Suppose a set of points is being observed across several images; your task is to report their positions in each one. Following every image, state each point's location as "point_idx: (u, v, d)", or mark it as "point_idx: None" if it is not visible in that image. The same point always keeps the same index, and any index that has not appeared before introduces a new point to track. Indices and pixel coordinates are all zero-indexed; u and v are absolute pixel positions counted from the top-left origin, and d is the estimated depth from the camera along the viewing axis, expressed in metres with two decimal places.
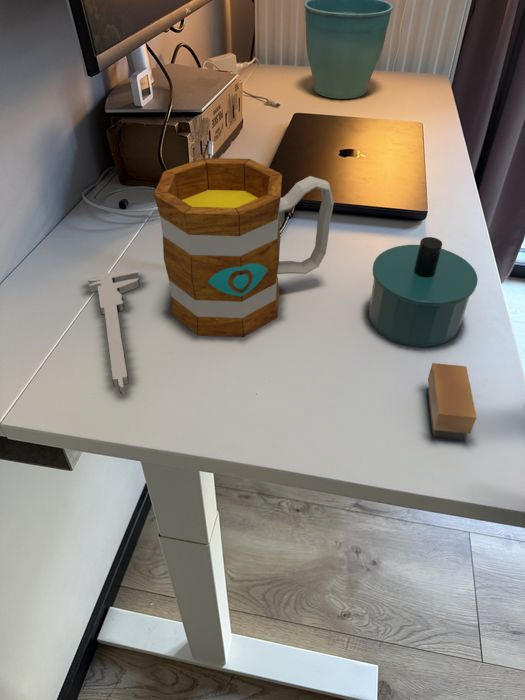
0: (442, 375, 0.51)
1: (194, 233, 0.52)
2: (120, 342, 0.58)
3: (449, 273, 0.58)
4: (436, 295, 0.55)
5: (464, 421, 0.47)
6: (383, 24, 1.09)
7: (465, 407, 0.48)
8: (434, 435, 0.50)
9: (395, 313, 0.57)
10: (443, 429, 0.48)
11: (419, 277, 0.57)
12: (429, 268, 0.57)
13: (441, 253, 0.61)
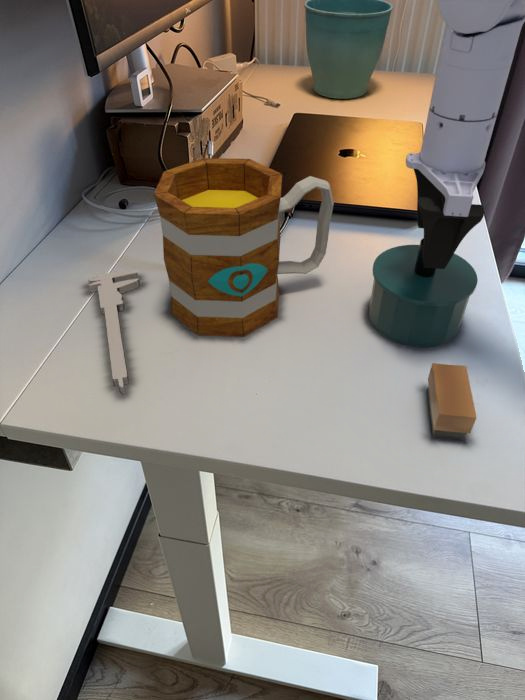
0: (442, 375, 0.51)
1: (194, 233, 0.52)
2: (120, 342, 0.58)
3: (449, 273, 0.58)
4: (436, 295, 0.55)
5: (464, 421, 0.47)
6: (383, 24, 1.09)
7: (465, 407, 0.48)
8: (434, 435, 0.50)
9: (395, 313, 0.57)
10: (443, 429, 0.48)
11: (419, 277, 0.57)
12: (429, 268, 0.57)
13: None
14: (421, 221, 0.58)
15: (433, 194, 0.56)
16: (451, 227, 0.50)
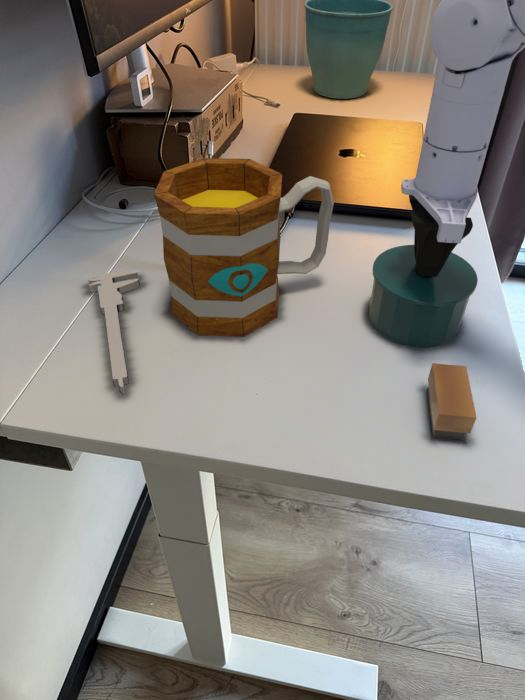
0: (442, 375, 0.51)
1: (194, 233, 0.52)
2: (120, 342, 0.58)
3: (449, 273, 0.58)
4: (436, 295, 0.55)
5: (464, 421, 0.47)
6: (383, 24, 1.09)
7: (465, 407, 0.48)
8: (434, 435, 0.50)
9: (395, 313, 0.57)
10: (443, 429, 0.48)
11: (419, 277, 0.57)
12: None
13: None
14: None
15: None
16: None
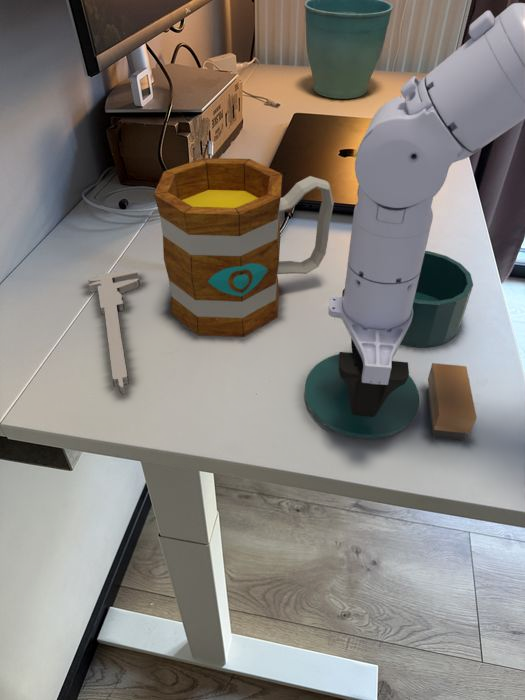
0: (442, 375, 0.51)
1: (194, 233, 0.52)
2: (120, 342, 0.58)
3: None
4: (370, 424, 0.49)
5: (464, 421, 0.47)
6: (383, 24, 1.09)
7: (465, 407, 0.48)
8: (434, 435, 0.50)
9: None
10: (443, 429, 0.48)
11: None
12: None
13: None
14: (356, 351, 0.54)
15: None
16: None
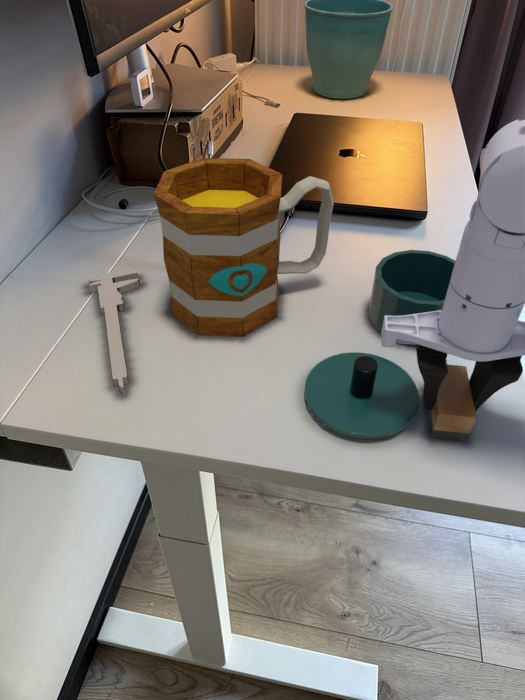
0: None
1: (194, 233, 0.52)
2: (120, 342, 0.58)
3: (388, 393, 0.52)
4: (370, 424, 0.49)
5: (464, 421, 0.47)
6: (383, 24, 1.09)
7: (465, 407, 0.48)
8: (434, 435, 0.50)
9: (395, 313, 0.57)
10: (443, 429, 0.48)
11: (355, 398, 0.52)
12: (364, 391, 0.51)
13: (383, 364, 0.55)
14: None
15: (477, 376, 0.48)
16: None
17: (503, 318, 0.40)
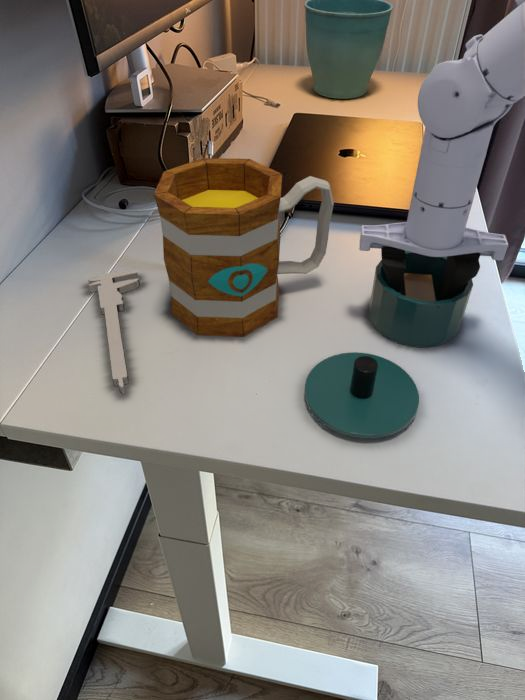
0: (411, 281, 0.61)
1: (194, 233, 0.52)
2: (120, 342, 0.58)
3: (388, 393, 0.52)
4: (370, 424, 0.49)
5: None
6: (383, 24, 1.09)
7: None
8: None
9: (395, 313, 0.57)
10: None
11: (355, 398, 0.52)
12: (364, 391, 0.51)
13: (383, 364, 0.55)
14: (437, 297, 0.61)
15: (446, 278, 0.59)
16: None
17: (453, 217, 0.51)
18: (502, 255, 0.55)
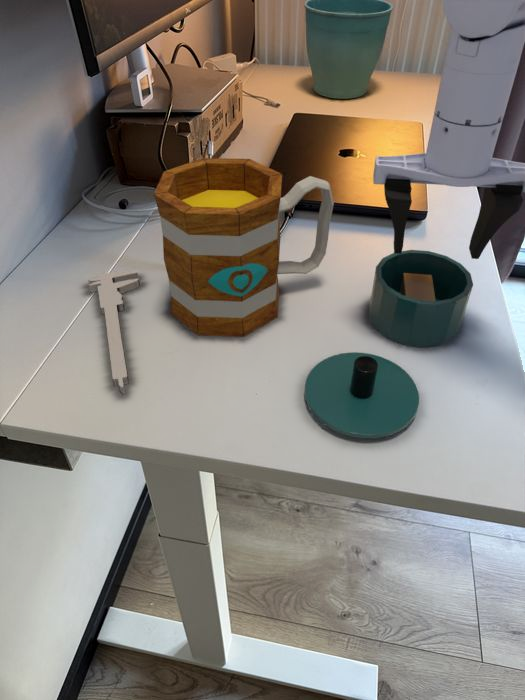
0: (411, 281, 0.61)
1: (194, 233, 0.52)
2: (120, 342, 0.58)
3: (388, 393, 0.52)
4: (370, 424, 0.49)
5: None
6: (383, 24, 1.09)
7: None
8: None
9: (395, 313, 0.57)
10: None
11: (355, 398, 0.52)
12: (364, 391, 0.51)
13: (383, 364, 0.55)
14: (471, 242, 0.55)
15: (482, 218, 0.53)
16: None
17: (480, 138, 0.45)
18: None
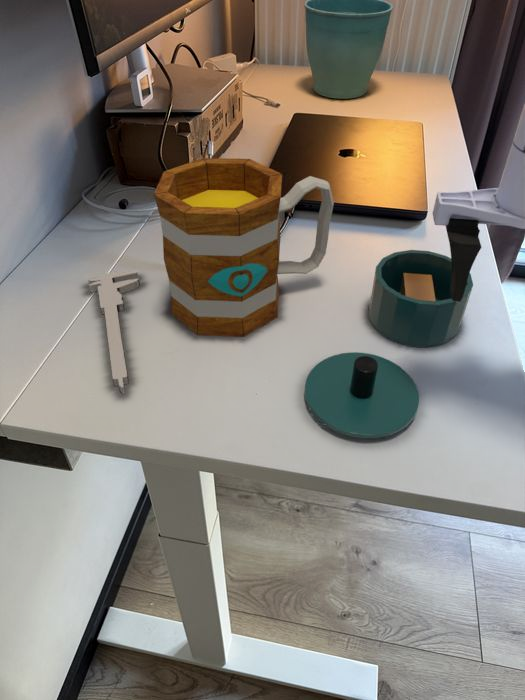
0: (411, 281, 0.61)
1: (194, 233, 0.52)
2: (120, 342, 0.58)
3: (388, 393, 0.52)
4: (370, 424, 0.49)
5: None
6: (383, 24, 1.09)
7: None
8: None
9: (395, 313, 0.57)
10: None
11: (355, 398, 0.52)
12: (364, 391, 0.51)
13: (383, 364, 0.55)
14: None
15: None
16: None
17: None
18: None
